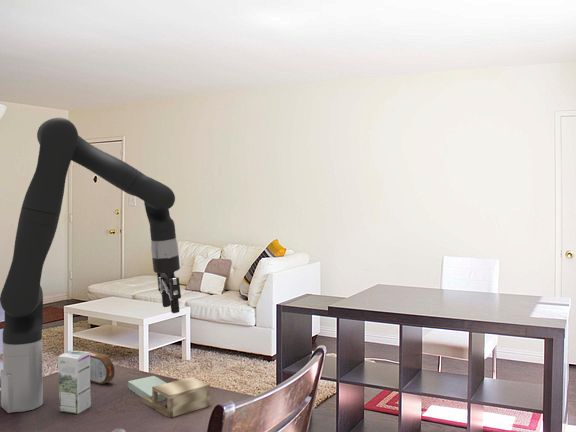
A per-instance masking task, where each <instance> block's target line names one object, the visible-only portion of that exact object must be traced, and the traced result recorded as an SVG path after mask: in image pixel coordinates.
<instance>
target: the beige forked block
mask: <svg viewBox="0 0 576 432" xmlns="http://www.w3.org/2000/svg"><path fill="white" fill-rule="evenodd" d="M158 393H159V394H161V395H163V396H165V397H167V400H166V402H167V404H166V405H167V406H165V405H163V404H160V402H158ZM210 401H211V385H210V383H207V382H204V381H202V380H200V379H197V378H196V377H193V376H191V377H186V378H182V379H178V380H174V381H170V382H166V384H162V385H158V386H154V387H152V399H150V398H148V397H143V398H142V403H143V404H144V405H145V406H148V407H149V408H151V409H153V410H154V409H155V410H154V411H156V412H158V413H160V414H161V415H163V416H165V417H167V418H169V419H171V418H173V417H177V416H180V415H181V416H182V415H185V414H188V413H190V412H193V411H194V412H195V411H197V410H201V409H204V408H208V407H210V406H211V402H210Z"/></svg>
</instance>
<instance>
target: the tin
mask: <svg viewBox="0 0 576 432" xmlns="http://www.w3.org/2000/svg"><path fill="white" fill-rule="evenodd" d="M82 352H90V383H91V382H92V383H94V384H97V385H104V384H106V383H109V382H111V381H113V379H114V377H115V373H116V372H115V366H114V363H113V361H112V359H111V358H110V357H109V356H108V355H107V354H104V353H100V352H98V351H97V352H96V351H92V350H89V349H88V350H87V349H86V350H84V351H82Z"/></svg>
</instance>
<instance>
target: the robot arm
mask: <svg viewBox="0 0 576 432" xmlns="http://www.w3.org/2000/svg"><path fill="white" fill-rule="evenodd" d="M36 133H37V134H36V138H37V142H38V144H39V151H38V158H37V163H36V167H35V171H34V174H33V176H32V179H31V180H30V182H29V185H28V187H27V190H26V193H25V195H24V198H23V201H22V205H21V208H20V213H19V218H18V221H17V222H18V223H17V227H16V234H15V238H14V239H15V240H14V246H13V255H12V261H11V264H10V267H9V270H8V274H7V275H6V279H5V283H4V284H3V287H2V290H1V293H0V306H1V309H2V310H3V311H4V323H3V330H2V370H0V407H1V408H2V409H3V410H4V411H6V413H8V414H11V413H22V412H23V413H24V412H28V411H31V410H36V409H38V408H39V407H42V405H43V404H44V400H43V397H44V393H43V391H44V389H43V388H44V387H43V328H44V327H43V326H44V293H43V288H42V286H41V280H42V273H43V267H44V264H45V261H46V259H47V256H48V253H49V251H50V249H51V247H52V244H53V241H54V238H55V235H56V232H57V229H58V225H59V220H60V215H61V211H62V205H63V199H64V193H65V187H66V180H67V175H68V171H69V167H70V165H71V162H74V163H76V164H78V165H79V166H81V167H84V168H85V169H86V170H89V172H92V173H93V174H95V175H96V176H98V177H100V178H102V179H103V180H104V181H106V182H108V183H109V184H111V185H113V186H114V187H116V188H118V190H121V191H123V192H125V193H126V194H128V195H130V196H133V197H137V198H138V199H140V200H141V201H143V205H144V209H145V212H146V217H147V220H148V223H149V233H150V243H151V244H150V247H151V248H150V251H151V259H152V269H153V272H154V273H155V274H156V277H157V287H158V289H157V290H158V292H159V294H160V295H161V302H162V307H164V308H167V307H169V308H170V312H171V313H172V314H178V313H180V302H179V300H180V299H181V298H182V293H181V285H180V277H179V276H177V277H176V275H175V272H177V271H180V269H181V265H180V255H179V246H178V241H177V235H176V226H175V221H174V219H172V218H171V216H170V214H171V213H170V209H171V208H172V207H173V206H174V205H175V203H176V196H175V192H174V191H173V190H172V189H171V188H170V187H169V186H168V185H165V184H164V183H162V182H160V181H158V180H156V179H154V178H152V177H150V176H148V175H146V174H144V173H142V172H141V171H140V170H139V169H137V168H135V167H134V166H132V165H130V164H128V163H127V162H125V161H123V160H121V159H119V158H118V157H116V156H114V155H112V154H109V153H108V152H106V151H103V150H101V149H99V148H98V147H95V145H92V144H91V143H90V142H88V141H86V140H85V139H84V138H83V137H82V136H80V135H79V133H78V129H77V128H76V126H75V124H74V123H73V122H72V121H71V120H69V119H67V118H64V117H54V118H53V117H52V118H50V119H48V120H46V121H43V123H41V124H40V126H39V127H38V129H37V132H36Z"/></svg>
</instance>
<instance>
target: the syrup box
mask: <svg viewBox="0 0 576 432" xmlns="http://www.w3.org/2000/svg"><path fill="white" fill-rule="evenodd" d="M57 361H58V365H57V366H58V370H57V371H58V412H60V413H61V412H62V413H69V414H70V413H71V414H75V415H76V414H77V415H78V414H80V413H82V412H84V411H86V410H87V409H89V408H91V406H92V401H91V400H92V399H91V381H90V352H83V351H81V350H69V351H65V352H64V353H62V354H59V355H58V357H57Z"/></svg>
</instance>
